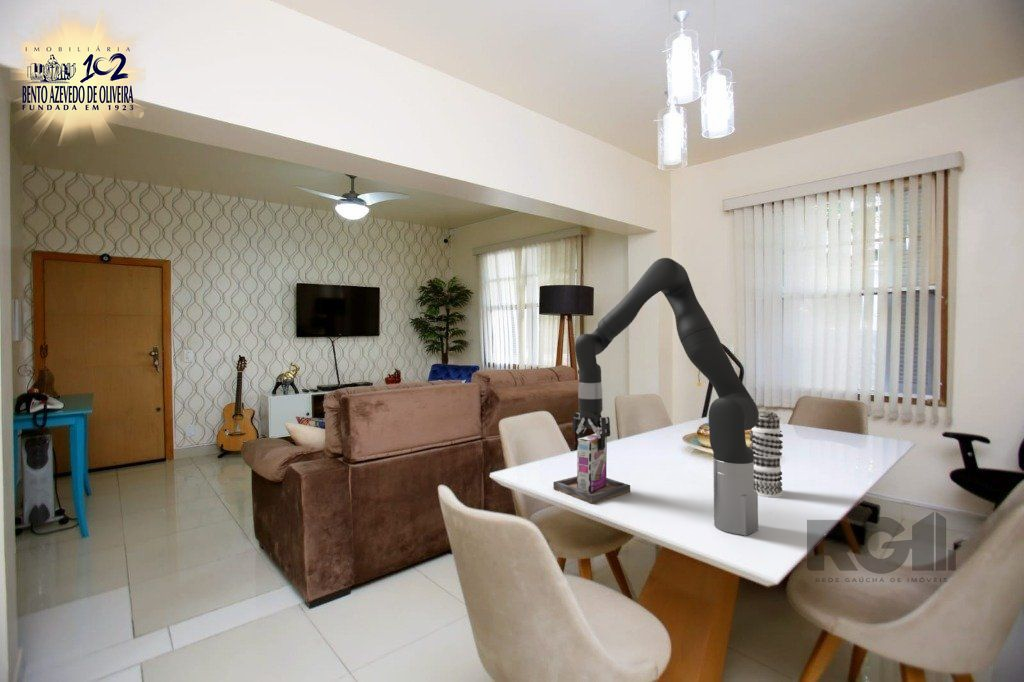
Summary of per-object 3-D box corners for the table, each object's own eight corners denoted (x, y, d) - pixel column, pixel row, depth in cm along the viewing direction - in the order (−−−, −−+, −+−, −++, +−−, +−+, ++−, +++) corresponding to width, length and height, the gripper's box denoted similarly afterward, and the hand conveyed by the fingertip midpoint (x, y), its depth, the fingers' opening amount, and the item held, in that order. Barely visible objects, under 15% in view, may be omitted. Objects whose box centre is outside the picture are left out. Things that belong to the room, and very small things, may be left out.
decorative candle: (786, 492, 142) (786, 412, 143) (779, 499, 136) (778, 415, 136) (754, 486, 149) (753, 409, 149) (746, 493, 142) (745, 412, 142)
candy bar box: (591, 494, 139) (590, 440, 139) (576, 491, 142) (576, 438, 142) (607, 485, 148) (607, 434, 148) (593, 482, 151) (593, 433, 151)
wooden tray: (630, 492, 143) (630, 485, 143) (591, 503, 133) (591, 496, 133) (591, 479, 157) (591, 472, 157) (553, 489, 147) (553, 481, 147)
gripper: (615, 397, 142) (616, 450, 142) (582, 394, 153) (583, 442, 153) (598, 399, 137) (599, 453, 137) (566, 395, 149) (566, 445, 149)
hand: (591, 447), depth 145 cm, fingers open, 8 cm apart
